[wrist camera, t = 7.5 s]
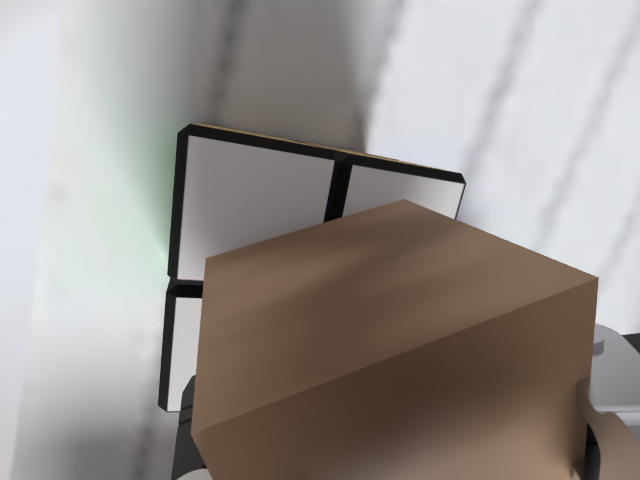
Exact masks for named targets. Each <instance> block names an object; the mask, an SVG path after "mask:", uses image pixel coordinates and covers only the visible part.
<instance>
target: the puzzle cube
mask: <svg viewBox="0 0 640 480" xmlns="http://www.w3.org/2000/svg"><path fill="white" fill-rule="evenodd" d="M465 186H466V182H465V180H464V178H463V176H462V174H461V173H456V172H451V171H447V170H442V169H437V168H432V167H427V166H423V165H418V164H413V163H408V162H403V161H398V160H396V159H391V158H386V157H381V156H376V155H371V154H366V153H361V152H356V151H350V150H345V149H339V148H334V147H328V146H323V145H317V144H312V143H306V142H301V141H295V140H294V141H292V140H288V139H284V138H279V137H273V136H268V135H262V134H257V133H251V132H246V131H240V130H235V129H229V128H224V127H218V126H213V125H207V124H202V123H201V124H189V125H188V126H186V127H185V128H184V129H182V130H181V131H180V132H178V135H177V148H176V162H175V176H174V190H173V204H172V218H171V231H170V245H169V259H168V273H167V275H168V276H169V277H170V281H169V285H168V288H167V291H166V302H165V315H164V329H163V343H162V357H161V371H160V384H159V398H158V406H159V407H161V408H162V409H163V410H164V411H166V412H167V413H168V412H181V410H180V407H181V399H182V392H183V391H184V389H185V387H186V386H187V384H188V382H189V380H190V379H191V377H192V376H193V375H196V366H197V354H198V342H199V331H200V319H201V307H202V296H203V284H204V272H205V260H206V258H208V257H211V256H214V255H218V254H221V253H224V252H228V251H231V250H234V249H238V248H241V247H245V246H248V245H251V244H255V243H258V242H261V241H265V240H268V239H271V238H275V237H278V236H281V235H285V234H288V233H291V232H295V231H298V230H301V229H305V228H308V227H311V226H315V225H318V224H321V223H325V222H328V221H331V220H335V219H338V218H342V217H345V216H348V215H352V214H355V213H358V212H362V211H365V210H368V209H372V208H375V207H378V206H382V205H385V204H388V203H392V202H395V201H398V200H402V199H406V200H408V201H411V202H413V203H415V204H418V205H420V206H423V207H425V208H428V209H430V210H433V211H435V212H438V213H440V214H443V215H445V216H448V217H450V218H452V219H455V220H456V217H457V214H458V210H459V207H460V203H461V200H462V196H463V193H464V190H465Z"/></svg>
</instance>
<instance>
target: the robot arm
mask: <svg viewBox="0 0 640 480" xmlns="http://www.w3.org/2000/svg"><path fill="white" fill-rule="evenodd" d="M195 378H196V375H193V376H192V377H191V379H190V380H189V382H188V384H187V386H186V387H185V389H184V391H183V392H182V399H181V407H180V410H181V412H180V415H179V427H178V431H177V438H176V446H175V454H174V462H173V470H172V478H171V480H213V479H212V477H211V475H210V473H209V471H208V469H207V467H206V465H205V463H204V461H203V459H202V456H201V454H200V452H199V450H198V448H197V446H196V444H195V442H194V440H193V438H192V436H191V425H192V413H193V401H194V389H195ZM576 404H577V405H578V407H579V409H580V410H581V412H582V414H583V415H584V417H585V419H586V420H587V433H586V446H585V456H584V457H582V458H580V459H578V460H576V461H574V462H572V468H571V480H640V333H637V334H628V335H620V334H619V333H617V332H616V331H614V330H612V329H610V328H608V327H605V326H603V325H599V324H596V323H595V330H594V343H593V356H592V369H591V376H588V377H586V378H584V379H582V380H579V381H577V385H576Z"/></svg>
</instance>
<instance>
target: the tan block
mask: <svg viewBox="0 0 640 480" xmlns="http://www.w3.org/2000/svg"><path fill="white" fill-rule="evenodd" d="M597 291H598V277H595V276H593V275H591V274H588V273H586V272H583V271H581V270H578V269H576V268H573V267H571V266H568V265H566V264H563V263H561V262H558V261H556V260H554V259H551V258H549V257H546V256H544V255H541V254H539V253H536V252H534V251H531V250H529V249H526V248H524V247H522V246H519V245H517V244H514V243H512V242H509V241H507V240H504V239H502V238H499V237H497V236H494V235H492V234H489V233H487V232H485V231H482V230H480V229H477V228H475V227H472V226H470V225H467V224H465V223H462V222H460V221H457V220H455V219H452V218H450V217H448V216H445V215H443V214H440V213H438V212H435V211H433V210H430V209H428V208H425V207H423V206H420V205H418V204H415V203H413V202H411V201H408V200H406V199H402V200H398V201H395V202H392V203H388V204H385V205H382V206H378V207H375V208H372V209H368V210H365V211H362V212H358V213H355V214H352V215H348V216H345V217H342V218H338V219H335V220H331V221H328V222H325V223H321V224H318V225H315V226H311V227H308V228H305V229H301V230H298V231H295V232H291V233H288V234H285V235H281V236H278V237H275V238H271V239H268V240H265V241H261V242H258V243H255V244H251V245H248V246H245V247H241V248H238V249H234V250H231V251H228V252H224V253H221V254H218V255H214V256H211V257H208V258H206V260H205V272H204V284H203V296H202V307H201V319H200V331H199V342H198V354H197V366H196V378H195V389H194V401H193V413H192V425H191V436H192V438H193V440H194V442H195V444H196V446H197V448H198V450H199V452H200V454H201V456H202V459H203V461H204V463H205V465H206V467H207V469H208V471H209V473H210V475H211V477H212V479H213V480H571V468H572V462H574V461H576V460H578V459H580V458H582V457H584V456H585V446H586V433H587V420H586V419H585V417H584V415H583V414H582V412H581V410H580V409H579V407H578V405H577V404H576V385H577V381H579V380H582V379H584V378H586V377H588V376H591V369H592V356H593V343H594V330H595V317H596V304H597Z"/></svg>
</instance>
